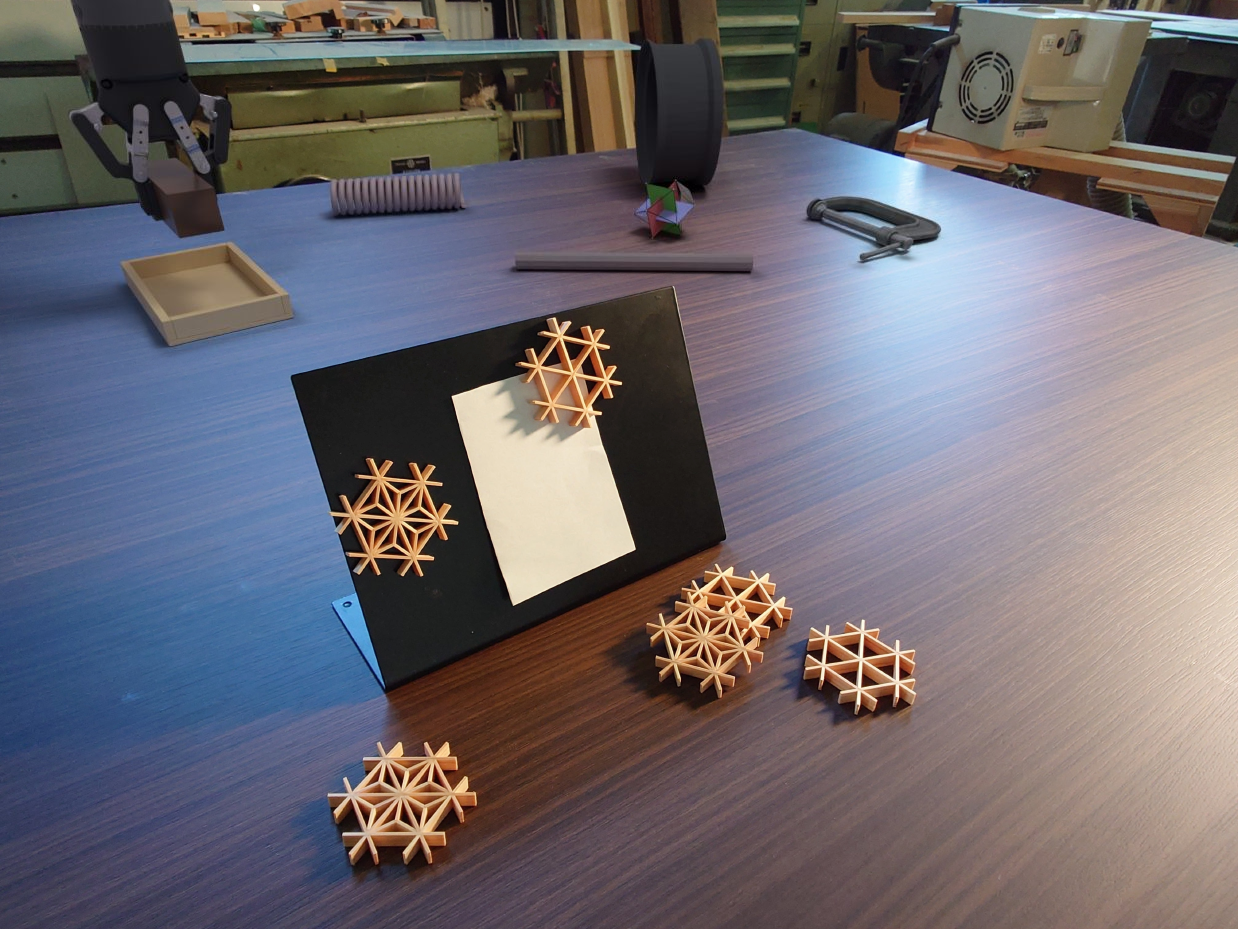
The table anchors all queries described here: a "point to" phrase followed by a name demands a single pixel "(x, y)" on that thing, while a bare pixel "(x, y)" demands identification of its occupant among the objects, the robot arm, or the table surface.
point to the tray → (205, 292)
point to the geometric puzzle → (666, 207)
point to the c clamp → (889, 237)
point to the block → (184, 199)
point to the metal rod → (634, 261)
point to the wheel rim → (678, 111)
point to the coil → (396, 194)
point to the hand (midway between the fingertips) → (182, 213)
